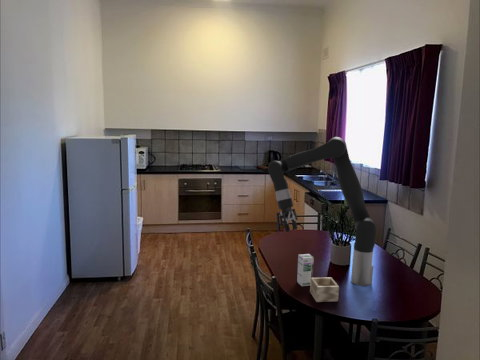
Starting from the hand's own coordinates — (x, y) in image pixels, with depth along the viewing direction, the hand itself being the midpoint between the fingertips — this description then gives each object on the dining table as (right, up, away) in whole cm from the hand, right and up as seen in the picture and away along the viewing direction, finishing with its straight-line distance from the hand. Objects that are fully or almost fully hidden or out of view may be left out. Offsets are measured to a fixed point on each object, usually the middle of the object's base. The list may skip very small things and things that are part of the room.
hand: (291, 230), depth 194 cm
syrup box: (+6, -26, -3) cm, 27 cm away
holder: (+12, -28, -16) cm, 35 cm away
